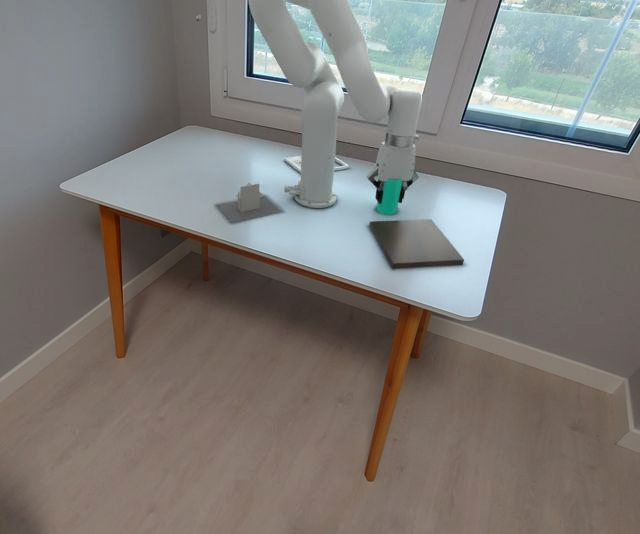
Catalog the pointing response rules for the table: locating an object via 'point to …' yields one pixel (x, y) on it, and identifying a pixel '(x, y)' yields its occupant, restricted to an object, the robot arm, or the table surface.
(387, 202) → the candle
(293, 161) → the photo frame
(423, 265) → the serving board
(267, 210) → the architectural model
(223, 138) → the table surface
